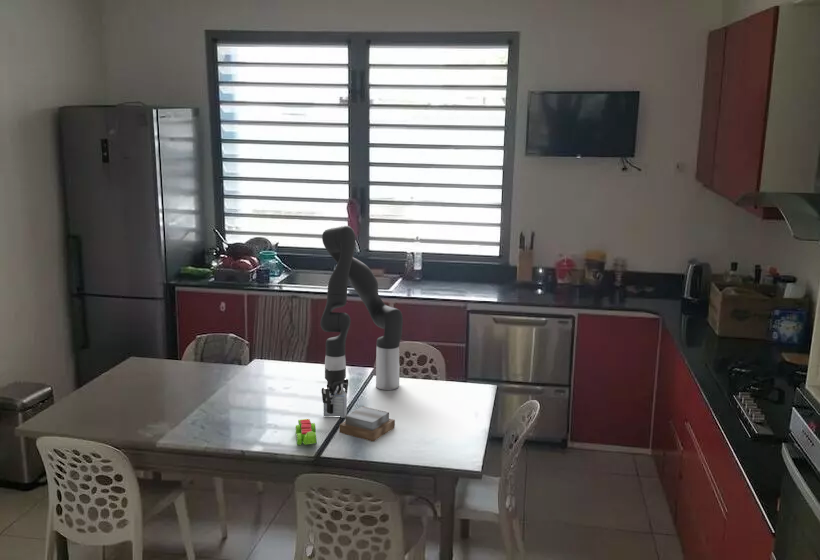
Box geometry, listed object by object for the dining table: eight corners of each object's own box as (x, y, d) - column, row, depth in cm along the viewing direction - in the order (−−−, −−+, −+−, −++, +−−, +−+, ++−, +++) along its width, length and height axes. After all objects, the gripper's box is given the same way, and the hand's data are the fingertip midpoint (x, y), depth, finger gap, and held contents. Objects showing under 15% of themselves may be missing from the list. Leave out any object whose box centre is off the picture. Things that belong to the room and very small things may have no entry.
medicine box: (346, 414, 283) (347, 391, 281) (344, 418, 279) (344, 396, 277) (325, 412, 284) (325, 390, 282) (323, 417, 279) (323, 394, 278)
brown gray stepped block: (361, 419, 278) (361, 403, 277) (394, 427, 271) (394, 411, 270) (339, 432, 266) (339, 416, 265) (373, 441, 259) (373, 425, 258)
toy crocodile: (295, 428, 270) (294, 411, 268) (314, 427, 271) (314, 410, 270) (297, 451, 251) (297, 434, 249) (318, 450, 252) (318, 433, 251)
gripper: (338, 359, 285) (337, 402, 289) (315, 369, 273) (315, 414, 276) (355, 362, 282) (354, 406, 285) (332, 373, 269) (332, 418, 273)
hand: (335, 410), depth 281 cm, fingers closed on medicine box, 5 cm apart
